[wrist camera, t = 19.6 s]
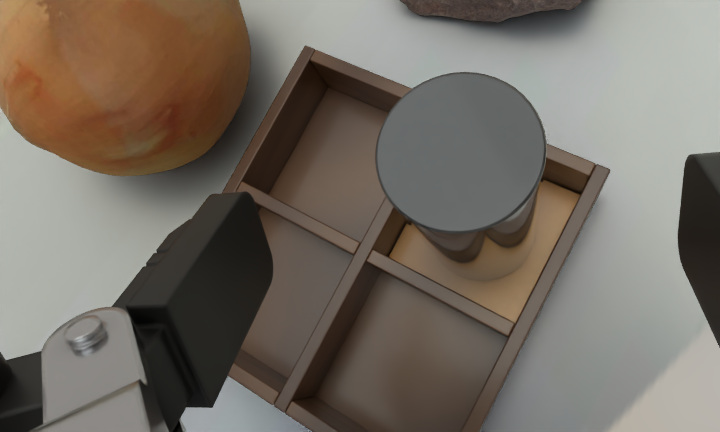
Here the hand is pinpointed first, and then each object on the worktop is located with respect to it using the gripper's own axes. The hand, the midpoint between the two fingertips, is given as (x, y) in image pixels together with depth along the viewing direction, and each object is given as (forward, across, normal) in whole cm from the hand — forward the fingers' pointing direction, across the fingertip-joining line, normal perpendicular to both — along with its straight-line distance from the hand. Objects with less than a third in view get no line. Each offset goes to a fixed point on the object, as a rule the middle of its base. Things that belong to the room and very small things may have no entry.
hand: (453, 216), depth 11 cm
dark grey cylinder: (+9, 0, +6) cm, 11 cm away
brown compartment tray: (+9, +4, +8) cm, 13 cm away
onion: (+15, +13, +2) cm, 20 cm away
